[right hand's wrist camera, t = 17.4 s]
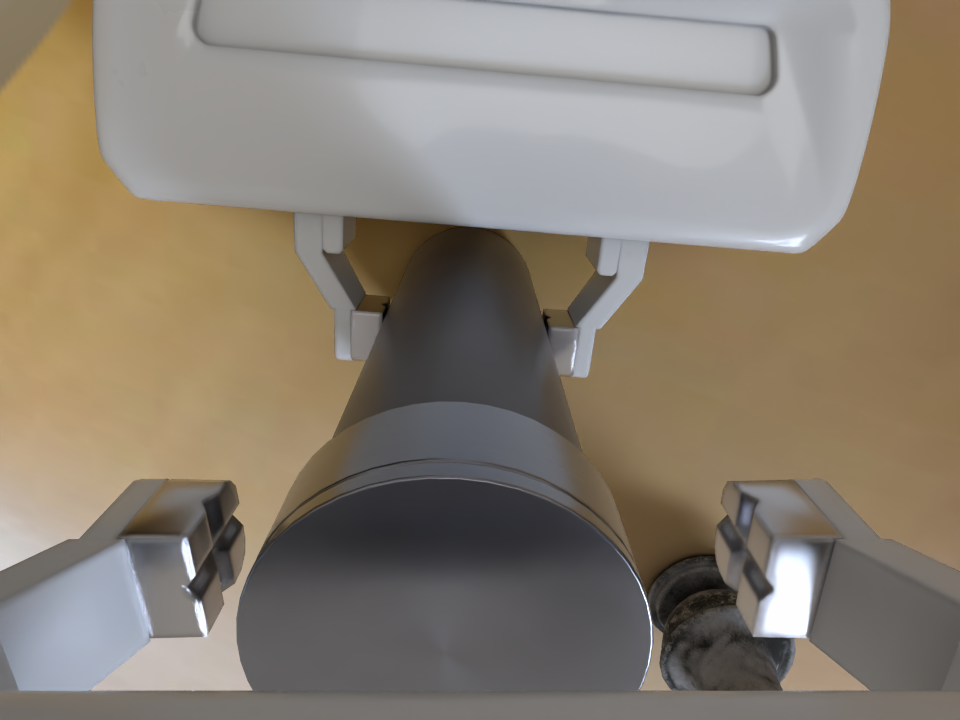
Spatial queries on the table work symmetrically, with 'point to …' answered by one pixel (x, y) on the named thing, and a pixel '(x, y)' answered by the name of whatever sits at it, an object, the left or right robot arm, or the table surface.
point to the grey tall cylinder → (463, 336)
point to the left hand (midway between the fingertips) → (463, 362)
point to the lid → (446, 564)
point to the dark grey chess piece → (711, 634)
